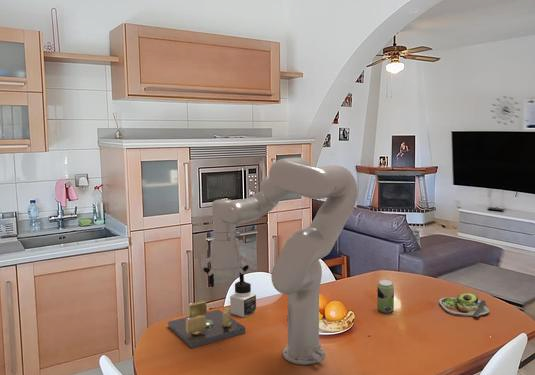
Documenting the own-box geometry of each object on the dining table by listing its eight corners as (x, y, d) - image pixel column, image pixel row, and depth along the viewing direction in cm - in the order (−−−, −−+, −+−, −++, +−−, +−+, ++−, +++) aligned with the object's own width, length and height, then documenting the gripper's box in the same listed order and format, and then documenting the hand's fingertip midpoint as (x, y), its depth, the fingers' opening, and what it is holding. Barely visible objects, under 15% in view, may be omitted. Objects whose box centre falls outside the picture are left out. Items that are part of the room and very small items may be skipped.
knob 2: (232, 321, 162) (232, 305, 161) (230, 328, 156) (229, 312, 155) (223, 321, 162) (223, 305, 162) (220, 328, 156) (220, 312, 155)
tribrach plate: (245, 333, 157) (245, 322, 157) (191, 348, 147) (191, 337, 146) (218, 314, 174) (218, 305, 174) (168, 327, 163) (167, 317, 163)
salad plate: (499, 321, 164) (500, 309, 164) (447, 319, 167) (448, 307, 166) (482, 302, 184) (482, 291, 183) (435, 300, 186) (436, 289, 185)
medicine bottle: (244, 318, 170) (243, 286, 169) (230, 313, 175) (229, 283, 173) (256, 312, 176) (256, 281, 175) (242, 308, 180) (241, 278, 179)
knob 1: (207, 332, 153) (206, 315, 152) (189, 337, 150) (188, 320, 149) (202, 329, 156) (202, 312, 155) (185, 333, 152) (184, 316, 152)
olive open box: (207, 316, 166) (207, 301, 166) (191, 320, 163) (190, 305, 162) (203, 313, 169) (203, 298, 168) (187, 317, 166) (186, 302, 165)
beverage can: (392, 307, 178) (392, 277, 177) (395, 315, 171) (396, 284, 170) (375, 307, 179) (376, 277, 177) (378, 314, 172) (378, 283, 170)
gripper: (250, 232, 160) (252, 280, 161) (199, 235, 159) (202, 283, 160) (250, 237, 152) (252, 287, 154) (197, 239, 151) (200, 290, 153)
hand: (226, 285), depth 157 cm, fingers open, 9 cm apart
